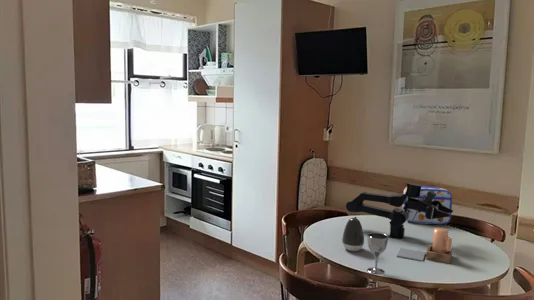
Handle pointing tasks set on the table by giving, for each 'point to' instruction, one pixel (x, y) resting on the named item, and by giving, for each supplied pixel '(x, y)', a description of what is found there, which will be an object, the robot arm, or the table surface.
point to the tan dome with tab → (441, 241)
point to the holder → (438, 255)
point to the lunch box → (440, 195)
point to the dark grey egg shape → (353, 235)
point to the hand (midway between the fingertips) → (451, 213)
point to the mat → (411, 254)
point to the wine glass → (377, 249)
